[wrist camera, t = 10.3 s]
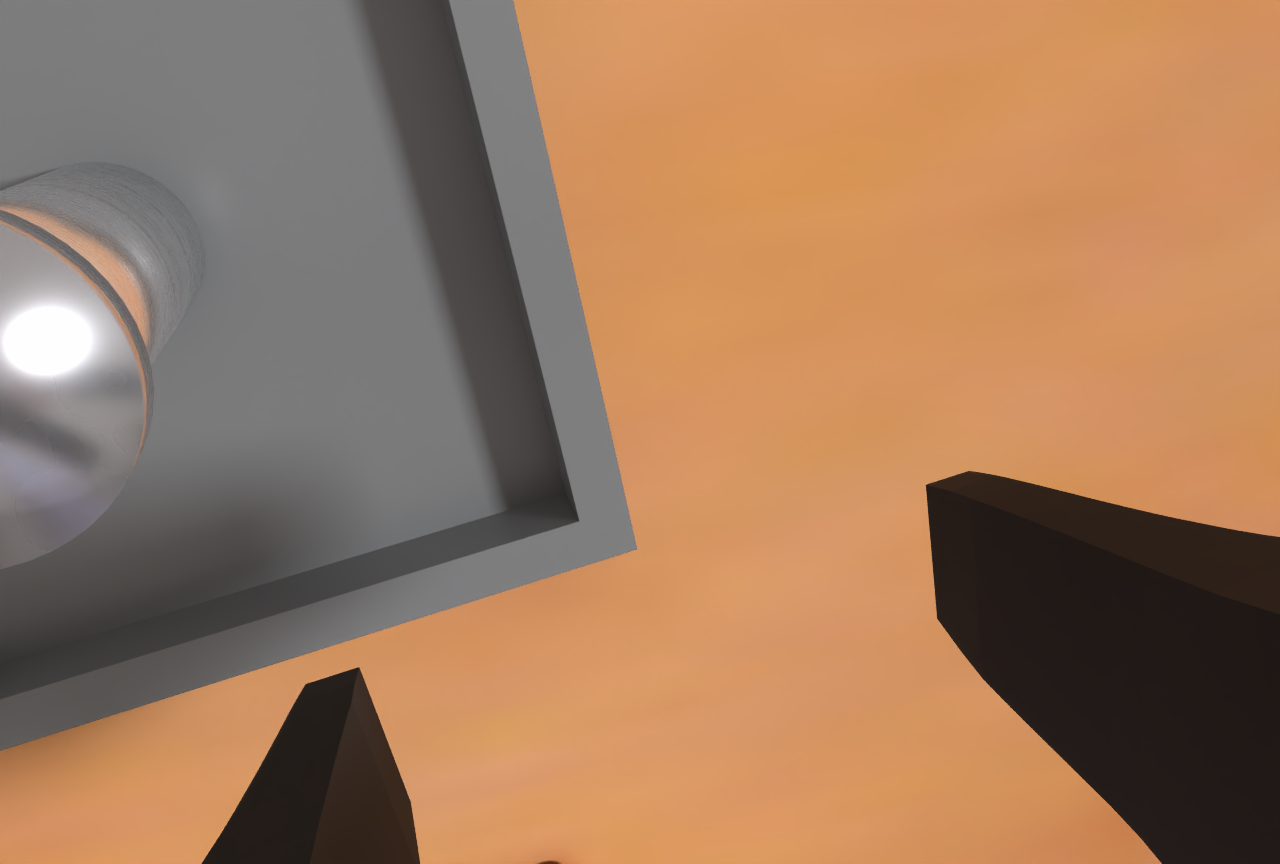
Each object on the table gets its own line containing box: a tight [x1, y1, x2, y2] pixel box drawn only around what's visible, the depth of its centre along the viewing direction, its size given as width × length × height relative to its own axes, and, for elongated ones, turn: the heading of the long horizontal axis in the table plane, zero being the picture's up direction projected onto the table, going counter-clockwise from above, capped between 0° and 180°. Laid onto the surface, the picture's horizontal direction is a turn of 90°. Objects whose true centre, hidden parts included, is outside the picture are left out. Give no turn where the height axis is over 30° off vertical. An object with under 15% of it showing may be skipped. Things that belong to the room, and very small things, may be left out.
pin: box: [0, 162, 205, 569], centre depth 13 cm, size 4×4×8 cm
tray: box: [0, 0, 637, 751], centre depth 16 cm, size 16×14×2 cm
